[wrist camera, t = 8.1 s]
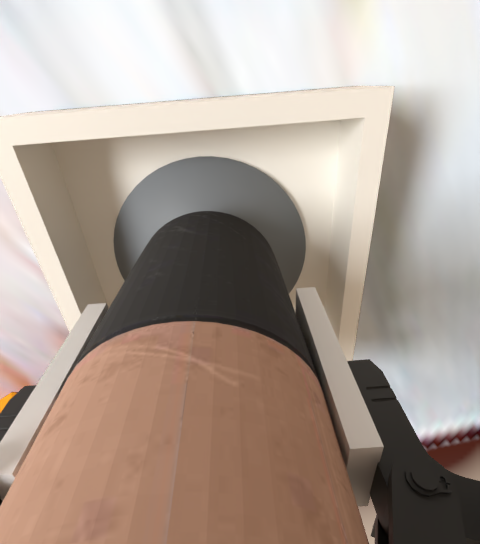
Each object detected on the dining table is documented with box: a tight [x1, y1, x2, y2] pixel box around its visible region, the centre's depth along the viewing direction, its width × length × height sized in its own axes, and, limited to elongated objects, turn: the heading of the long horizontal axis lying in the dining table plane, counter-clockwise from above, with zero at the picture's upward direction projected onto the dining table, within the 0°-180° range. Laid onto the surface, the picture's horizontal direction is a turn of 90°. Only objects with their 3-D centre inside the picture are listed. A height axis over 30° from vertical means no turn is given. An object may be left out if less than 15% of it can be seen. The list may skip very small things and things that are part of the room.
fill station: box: [0, 86, 395, 361], centre depth 17 cm, size 16×16×7 cm
